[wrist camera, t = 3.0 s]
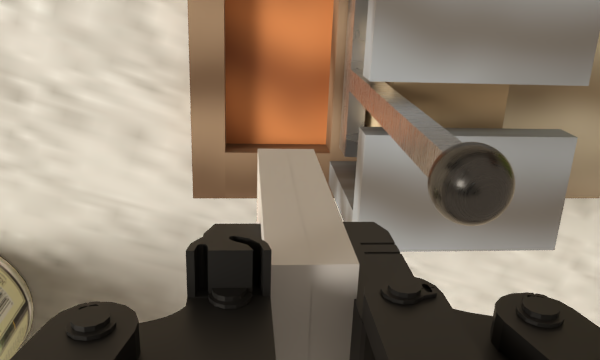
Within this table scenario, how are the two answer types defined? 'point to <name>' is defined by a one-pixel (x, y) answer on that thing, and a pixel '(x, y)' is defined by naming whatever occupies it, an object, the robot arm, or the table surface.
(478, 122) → the block
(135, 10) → the table surface
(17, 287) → the coffee can
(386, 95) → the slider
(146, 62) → the table surface
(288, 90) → the bench vise
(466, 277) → the table surface
